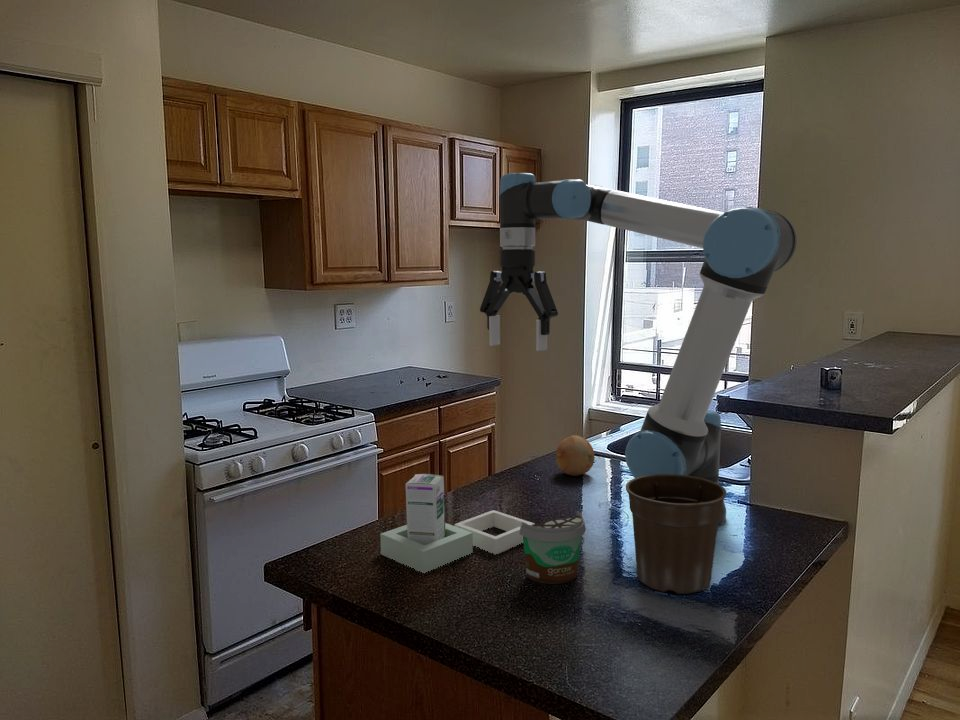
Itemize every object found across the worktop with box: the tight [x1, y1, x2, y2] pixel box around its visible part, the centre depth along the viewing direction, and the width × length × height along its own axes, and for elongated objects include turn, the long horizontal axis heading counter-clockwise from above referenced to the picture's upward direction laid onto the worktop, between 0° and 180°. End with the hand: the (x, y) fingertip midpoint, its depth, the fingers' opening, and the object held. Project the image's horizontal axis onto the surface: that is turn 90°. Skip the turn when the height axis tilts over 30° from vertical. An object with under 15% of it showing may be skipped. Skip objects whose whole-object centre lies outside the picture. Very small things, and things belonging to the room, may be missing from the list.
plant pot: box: [625, 474, 727, 595], centre depth 123 cm, size 16×16×16 cm
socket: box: [379, 522, 474, 574], centre depth 135 cm, size 12×12×4 cm
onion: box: [555, 434, 595, 477], centre depth 182 cm, size 10×10×10 cm
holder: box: [453, 509, 536, 556], centre depth 142 cm, size 11×11×3 cm
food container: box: [519, 510, 587, 585], centre depth 124 cm, size 12×6×10 cm, turn 118°
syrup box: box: [404, 473, 446, 545], centre depth 134 cm, size 6×6×14 cm
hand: (517, 347), depth 158 cm, fingers open, 13 cm apart
